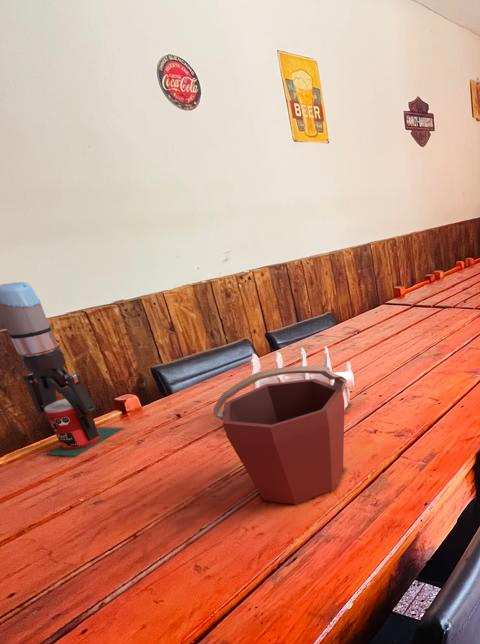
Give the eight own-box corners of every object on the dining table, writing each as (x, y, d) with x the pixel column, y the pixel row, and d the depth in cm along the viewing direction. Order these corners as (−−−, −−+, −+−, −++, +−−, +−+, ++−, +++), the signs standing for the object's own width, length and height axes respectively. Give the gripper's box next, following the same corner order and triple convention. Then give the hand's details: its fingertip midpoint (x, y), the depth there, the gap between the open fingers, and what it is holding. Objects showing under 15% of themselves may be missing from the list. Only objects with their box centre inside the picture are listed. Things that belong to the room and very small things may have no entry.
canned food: (57, 446, 128) (38, 406, 124) (93, 432, 134) (76, 394, 129) (69, 453, 124) (50, 413, 120) (105, 439, 130) (88, 400, 125)
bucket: (363, 448, 119) (344, 346, 108) (359, 503, 99) (336, 384, 88) (253, 463, 115) (223, 359, 104) (227, 523, 96) (186, 402, 85)
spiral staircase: (357, 425, 139) (260, 434, 134) (356, 378, 149) (266, 384, 145) (349, 379, 124) (240, 387, 120) (348, 331, 135) (248, 336, 131)
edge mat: (47, 454, 125) (47, 454, 125) (95, 428, 137) (95, 427, 137) (74, 456, 123) (74, 455, 123) (120, 429, 136) (120, 428, 136)
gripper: (90, 346, 120) (126, 431, 130) (19, 346, 124) (59, 429, 134) (61, 357, 113) (101, 446, 123) (-13, 356, 117) (32, 443, 127)
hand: (79, 437), depth 129 cm, fingers closed on canned food, 8 cm apart
